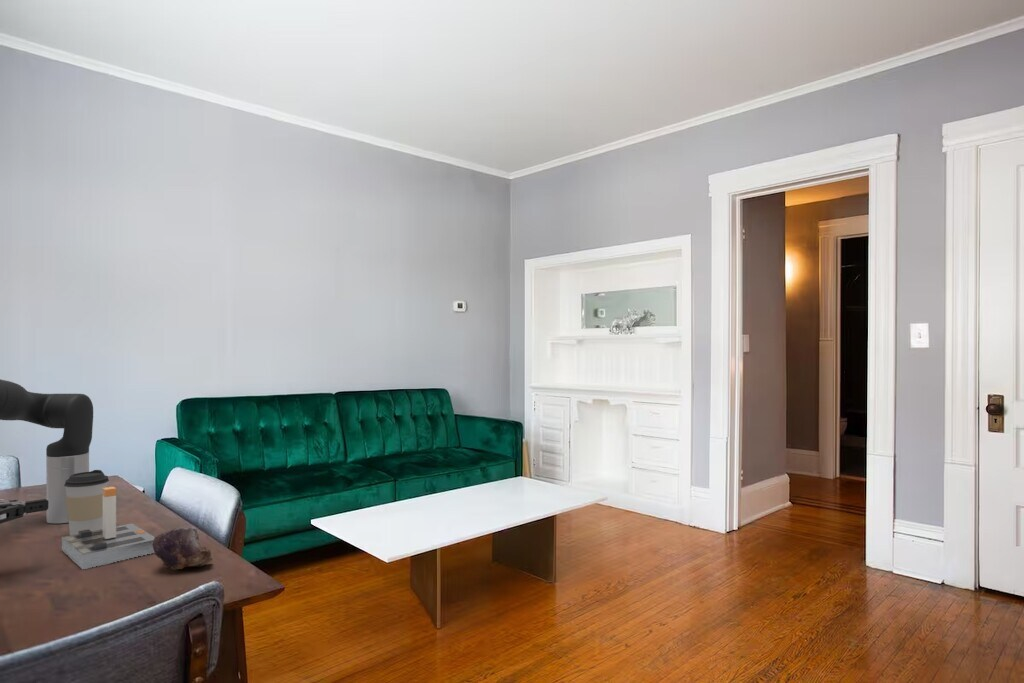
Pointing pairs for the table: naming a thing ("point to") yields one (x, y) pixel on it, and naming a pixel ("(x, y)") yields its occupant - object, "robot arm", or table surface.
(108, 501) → the orange-capped grey post
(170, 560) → the rock
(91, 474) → the coffee cup
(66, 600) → the table surface
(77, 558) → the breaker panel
